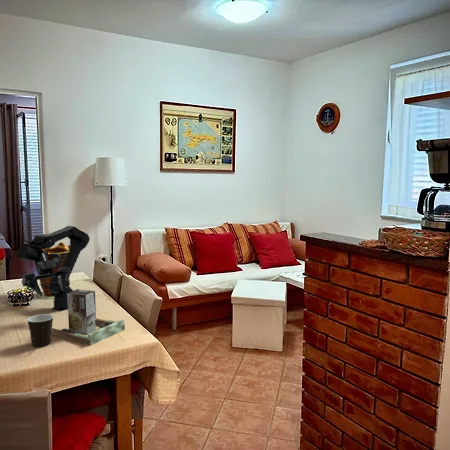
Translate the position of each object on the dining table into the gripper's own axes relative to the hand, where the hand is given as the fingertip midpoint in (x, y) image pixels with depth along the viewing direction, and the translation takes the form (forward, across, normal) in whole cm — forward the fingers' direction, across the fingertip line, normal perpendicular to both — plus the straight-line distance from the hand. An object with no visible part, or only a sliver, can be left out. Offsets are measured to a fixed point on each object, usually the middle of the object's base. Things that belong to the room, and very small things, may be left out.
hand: (52, 293), depth 174 cm
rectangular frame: (+21, +6, -3) cm, 22 cm away
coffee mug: (+22, -13, -5) cm, 26 cm away
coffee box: (+20, +5, -2) cm, 21 cm away
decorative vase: (-19, +16, +42) cm, 49 cm away
